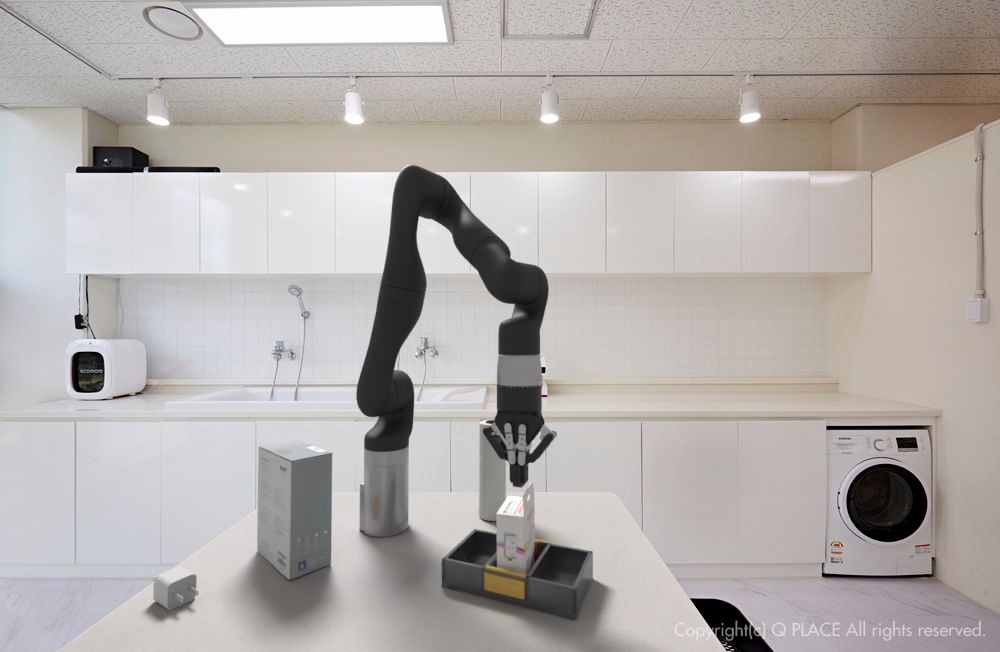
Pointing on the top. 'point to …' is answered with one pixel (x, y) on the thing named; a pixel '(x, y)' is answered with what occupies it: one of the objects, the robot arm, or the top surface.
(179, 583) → the usb wall charger
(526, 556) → the ink cartridge box
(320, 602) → the top surface
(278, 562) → the hard drive box
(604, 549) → the top surface
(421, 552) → the top surface
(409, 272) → the robot arm
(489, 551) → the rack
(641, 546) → the top surface
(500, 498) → the paper towel roll
